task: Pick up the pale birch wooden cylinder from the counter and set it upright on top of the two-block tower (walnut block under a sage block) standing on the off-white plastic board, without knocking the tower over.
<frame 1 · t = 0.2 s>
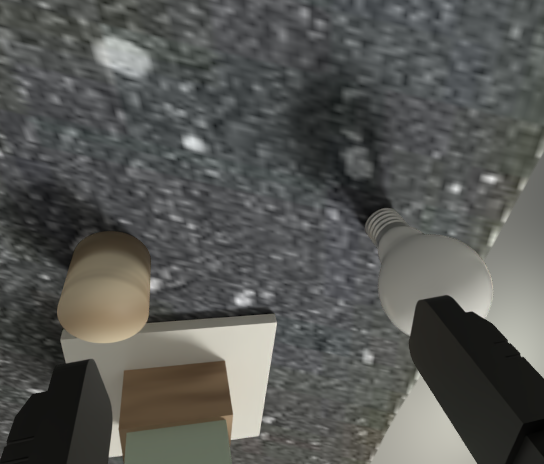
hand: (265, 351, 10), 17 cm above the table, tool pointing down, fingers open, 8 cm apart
lightbulb: (377, 217, 31), on the table
birch cylinder: (112, 261, 29), on the table
base board: (176, 386, 37), on the table
walnut block: (176, 396, 36), point 1 cm above the table, touching base board, sage block
sage block: (178, 452, 32), point 6 cm above the table, touching walnut block
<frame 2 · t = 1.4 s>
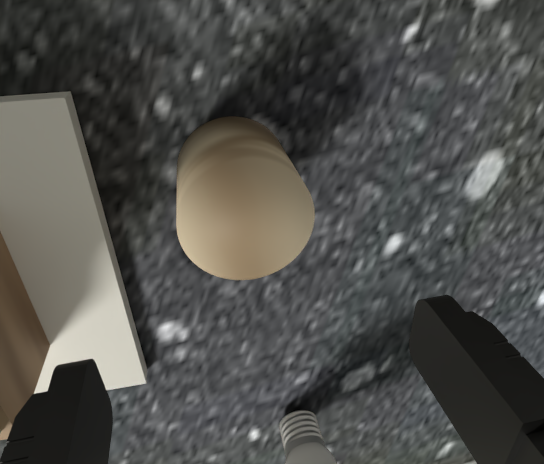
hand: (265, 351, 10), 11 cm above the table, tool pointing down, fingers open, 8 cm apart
lightbulb: (294, 411, 30), on the table
birch cylinder: (232, 170, 19), on the table
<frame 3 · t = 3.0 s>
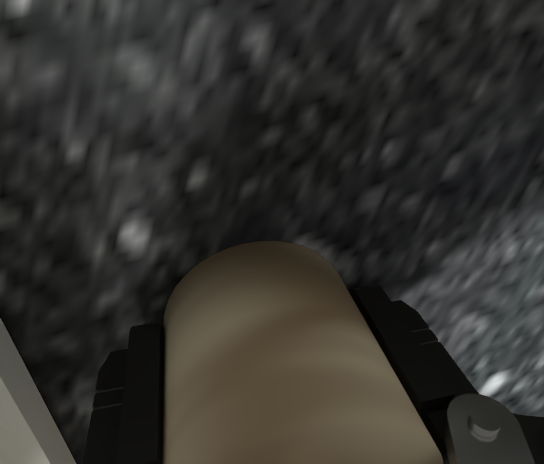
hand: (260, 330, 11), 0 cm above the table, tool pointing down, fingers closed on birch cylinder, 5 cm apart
birch cylinder: (258, 318, 11), on the table, touching gripper
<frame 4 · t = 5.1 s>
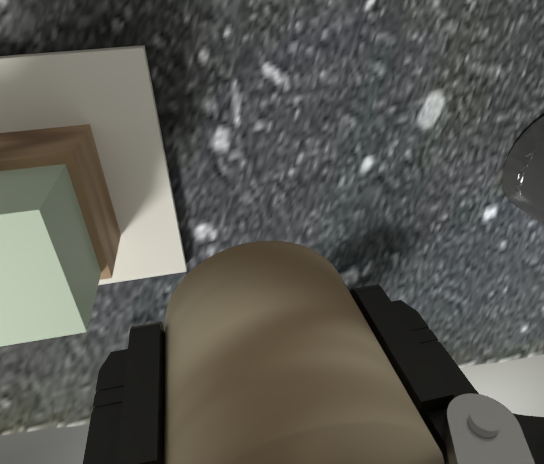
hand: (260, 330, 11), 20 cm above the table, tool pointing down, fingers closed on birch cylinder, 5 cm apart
birch cylinder: (259, 318, 11), point 19 cm above the table, touching gripper
base board: (46, 185, 28), on the table
walnut block: (42, 191, 27), point 1 cm above the table, touching base board, sage block
sage block: (17, 231, 23), point 6 cm above the table, touching walnut block
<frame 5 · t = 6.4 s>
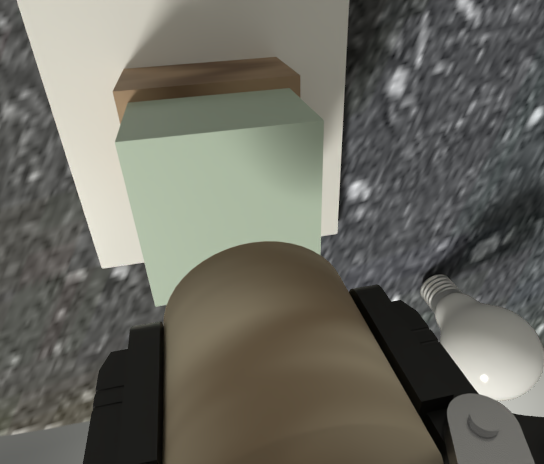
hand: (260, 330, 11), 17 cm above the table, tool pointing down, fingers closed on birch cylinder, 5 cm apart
lightbulb: (429, 280, 36), on the table
birch cylinder: (258, 318, 11), point 16 cm above the table, touching gripper
base board: (209, 130, 25), on the table
walnut block: (210, 136, 24), point 1 cm above the table, touching base board, sage block
sage block: (219, 169, 20), point 6 cm above the table, touching walnut block
when the fingers open (13 cm above the table, at t = 7.5 s): birch cylinder drops 1 cm, resting on sage block.
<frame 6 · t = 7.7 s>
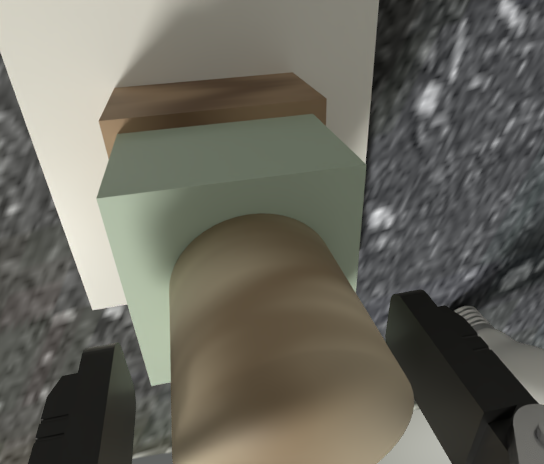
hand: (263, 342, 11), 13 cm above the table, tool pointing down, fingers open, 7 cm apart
lightbulb: (454, 311, 33), on the table
birch cylinder: (254, 286, 13), point 11 cm above the table, touching sage block
base board: (214, 155, 22), on the table
walnut block: (216, 162, 21), point 1 cm above the table, touching base board, sage block
sage block: (228, 209, 17), point 6 cm above the table, touching birch cylinder, walnut block
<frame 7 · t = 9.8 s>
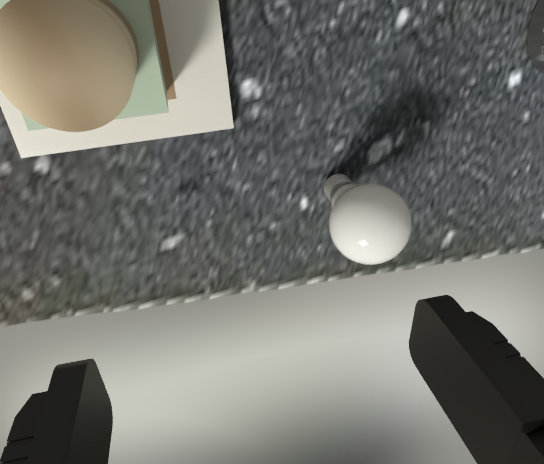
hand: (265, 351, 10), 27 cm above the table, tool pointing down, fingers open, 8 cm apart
lightbulb: (333, 183, 40), on the table
birch cylinder: (83, 48, 20), point 11 cm above the table, touching sage block
base board: (104, 27, 29), on the table
walnut block: (102, 28, 28), point 1 cm above the table, touching base board, sage block
sage block: (92, 36, 24), point 6 cm above the table, touching birch cylinder, walnut block
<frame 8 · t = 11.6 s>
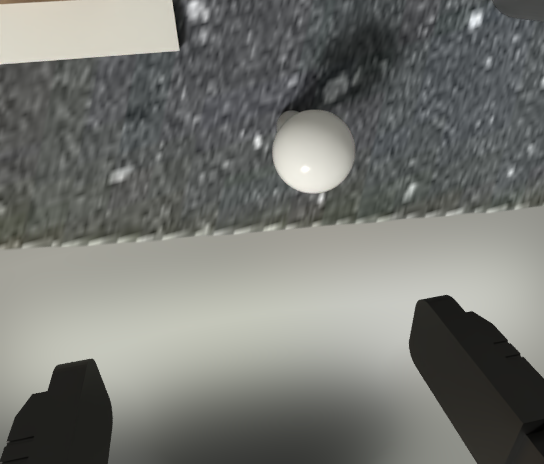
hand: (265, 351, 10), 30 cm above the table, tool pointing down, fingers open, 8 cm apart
lightbulb: (288, 122, 39), on the table
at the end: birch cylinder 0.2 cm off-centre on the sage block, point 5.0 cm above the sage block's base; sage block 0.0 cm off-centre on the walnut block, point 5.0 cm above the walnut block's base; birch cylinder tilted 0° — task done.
